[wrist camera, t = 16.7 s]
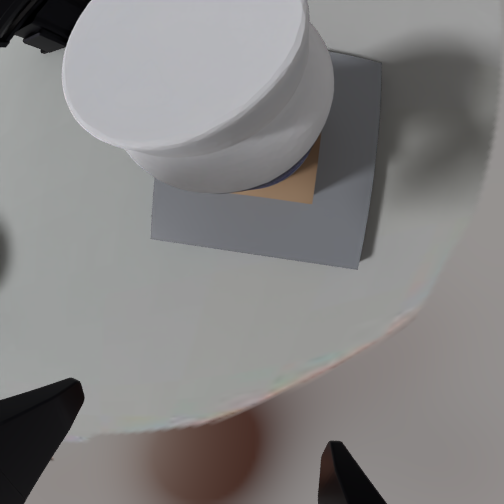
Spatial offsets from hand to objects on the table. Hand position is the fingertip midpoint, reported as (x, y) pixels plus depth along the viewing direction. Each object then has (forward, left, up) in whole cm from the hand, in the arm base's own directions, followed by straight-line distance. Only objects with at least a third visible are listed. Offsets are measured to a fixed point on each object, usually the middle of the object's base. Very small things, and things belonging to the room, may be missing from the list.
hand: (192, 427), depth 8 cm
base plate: (-10, 0, -13) cm, 16 cm away
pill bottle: (-10, 0, -7) cm, 12 cm away
